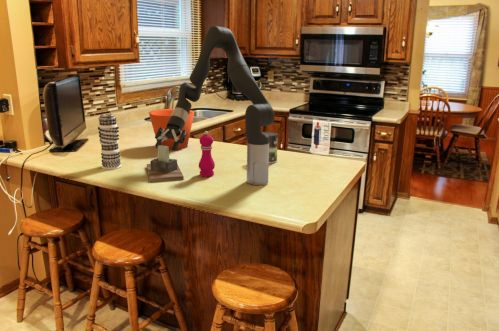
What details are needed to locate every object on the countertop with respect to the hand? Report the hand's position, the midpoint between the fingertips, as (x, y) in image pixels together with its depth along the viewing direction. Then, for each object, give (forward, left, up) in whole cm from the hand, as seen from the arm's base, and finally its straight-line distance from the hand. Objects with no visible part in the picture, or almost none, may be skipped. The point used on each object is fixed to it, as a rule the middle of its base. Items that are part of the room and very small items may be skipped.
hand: (165, 148), depth 189 cm
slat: (-1, +1, -9) cm, 10 cm away
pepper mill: (-9, -17, -11) cm, 22 cm away
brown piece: (-1, +1, -11) cm, 11 cm away
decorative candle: (+15, +24, -11) cm, 30 cm away
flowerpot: (+49, -9, -11) cm, 51 cm away
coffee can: (+7, -51, -11) cm, 53 cm away
